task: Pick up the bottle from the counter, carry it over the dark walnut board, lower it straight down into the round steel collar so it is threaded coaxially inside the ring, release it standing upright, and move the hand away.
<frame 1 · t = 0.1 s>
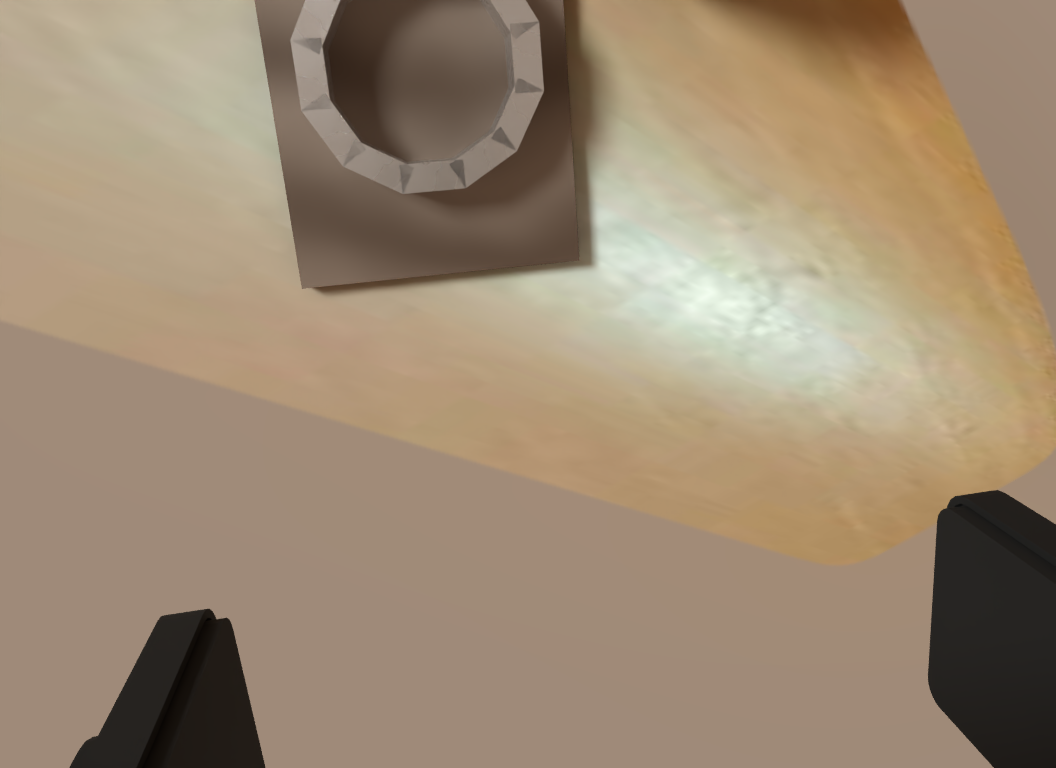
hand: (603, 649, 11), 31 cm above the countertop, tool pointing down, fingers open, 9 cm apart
holder board: (419, 71, 38), on the countertop
steel collar: (420, 68, 35), on the holder board, point 2 cm above the countertop
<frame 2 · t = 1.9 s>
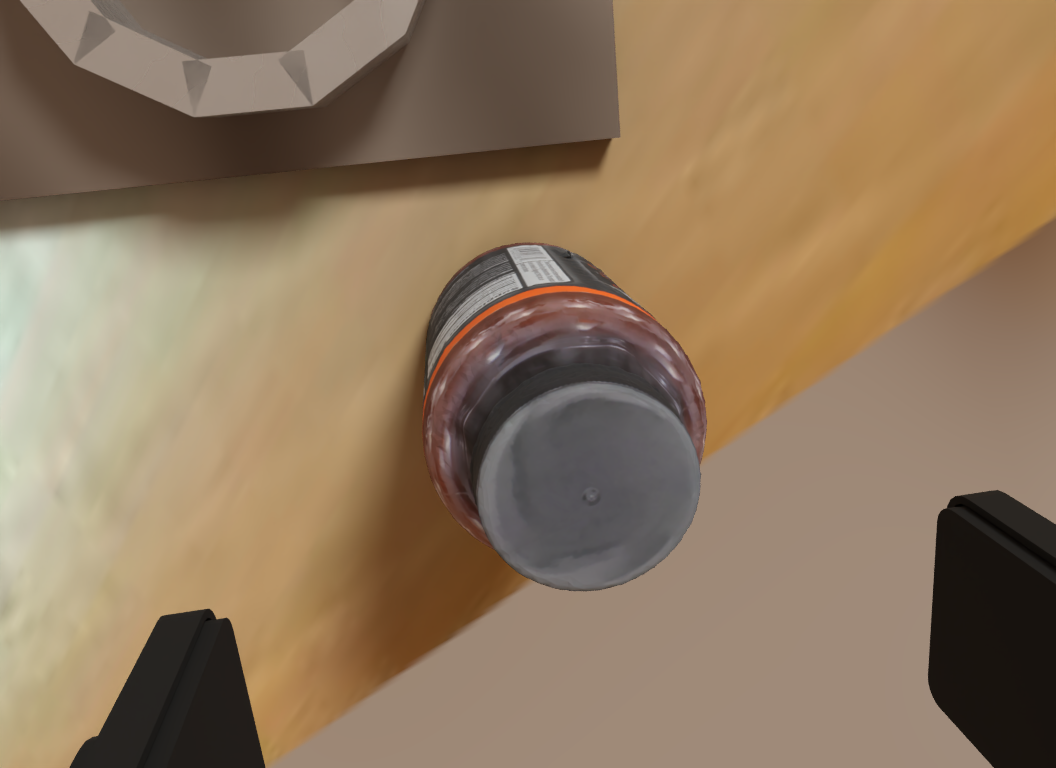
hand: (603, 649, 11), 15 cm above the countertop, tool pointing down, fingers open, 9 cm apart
supplement bottle: (525, 334, 25), on the countertop
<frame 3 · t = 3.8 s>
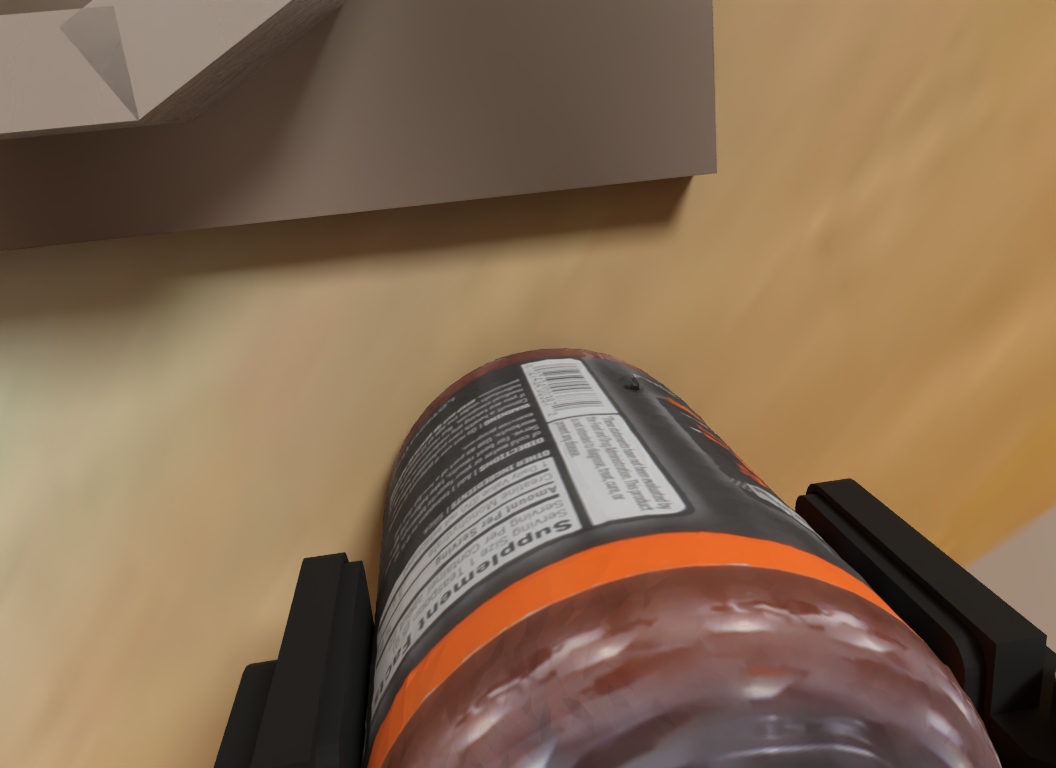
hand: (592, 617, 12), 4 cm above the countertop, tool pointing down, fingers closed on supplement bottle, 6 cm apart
supplement bottle: (546, 489, 16), on the countertop, touching gripper
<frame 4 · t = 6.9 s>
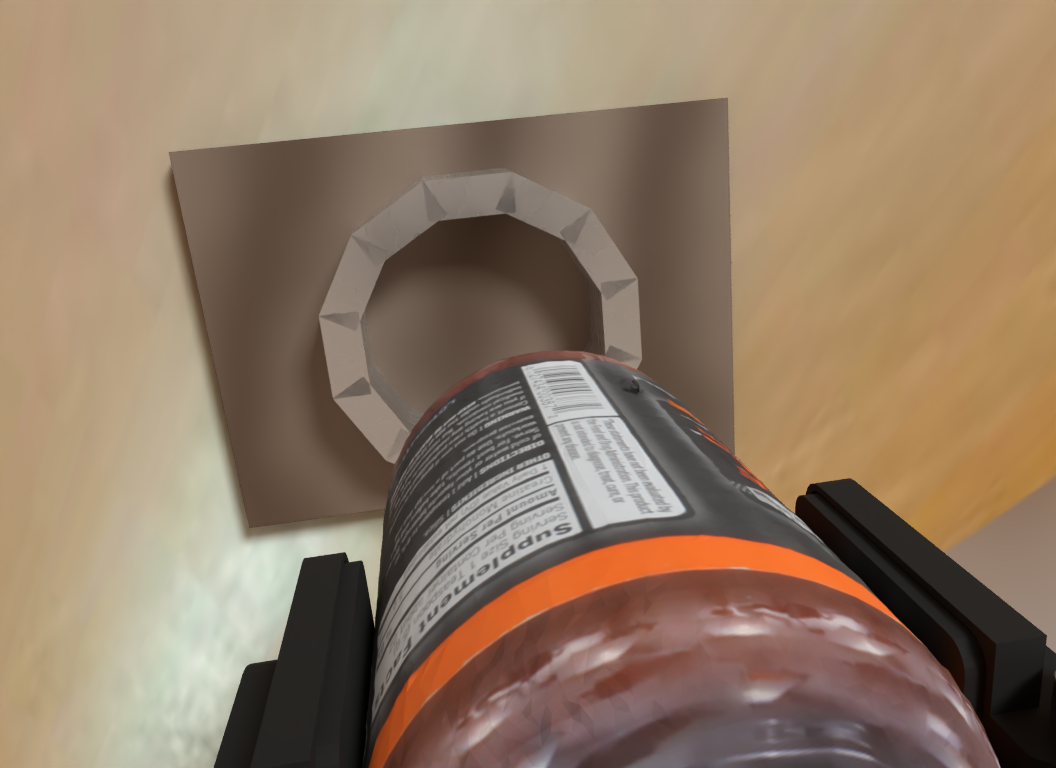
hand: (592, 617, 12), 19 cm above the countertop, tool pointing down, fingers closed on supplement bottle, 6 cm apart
supplement bottle: (547, 490, 16), point 15 cm above the countertop, touching gripper
holder board: (477, 314, 30), on the countertop
steel collar: (482, 329, 28), on the holder board, point 2 cm above the countertop
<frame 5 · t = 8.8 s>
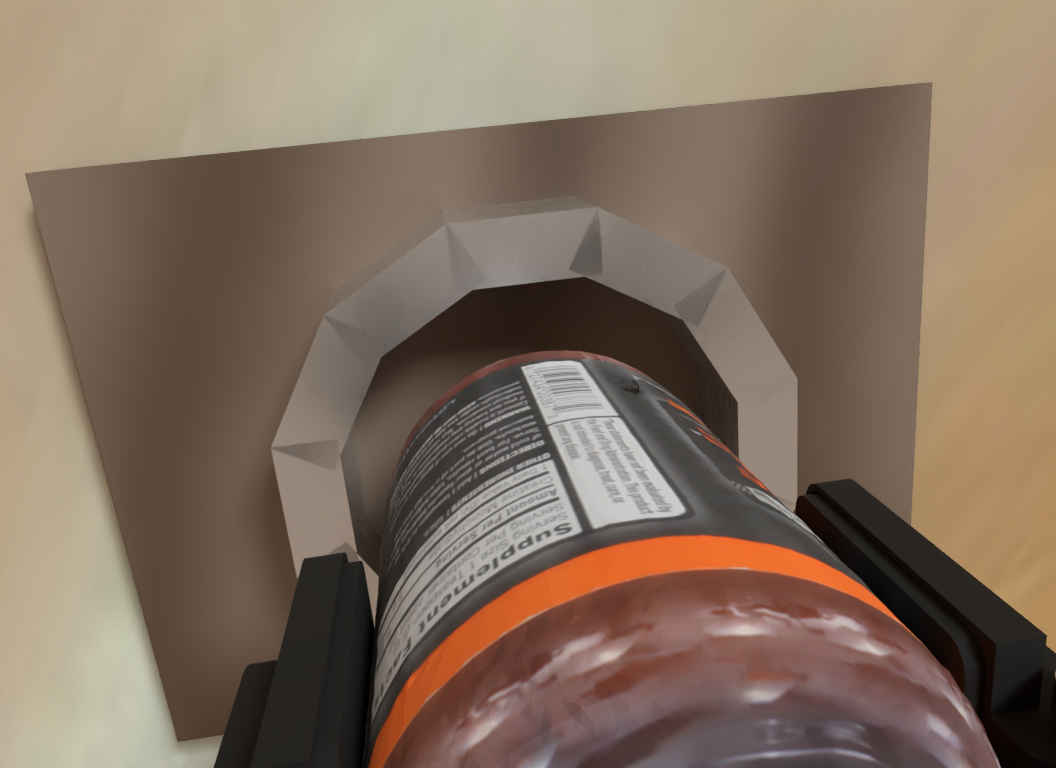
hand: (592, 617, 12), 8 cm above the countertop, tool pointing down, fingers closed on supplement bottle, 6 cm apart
supplement bottle: (546, 490, 16), point 4 cm above the countertop, touching gripper
holder board: (525, 417, 19), on the countertop
steel collar: (539, 453, 17), on the holder board, point 2 cm above the countertop
when the fingers open (6 cm above the countertop, at t = 10.2 s): supplement bottle stays where it is, resting on holder board.
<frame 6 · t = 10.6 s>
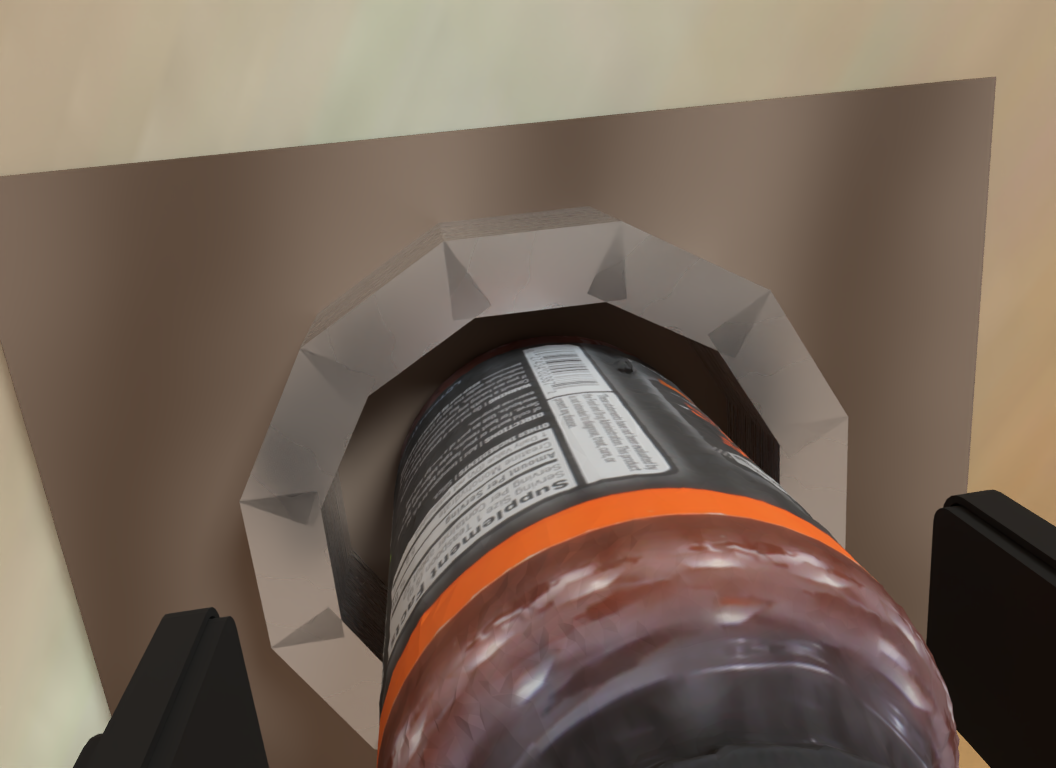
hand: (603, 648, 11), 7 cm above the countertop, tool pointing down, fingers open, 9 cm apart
supplement bottle: (547, 469, 17), point 1 cm above the countertop, touching holder board
holder board: (533, 454, 17), on the countertop
steel collar: (549, 500, 15), on the holder board, point 2 cm above the countertop
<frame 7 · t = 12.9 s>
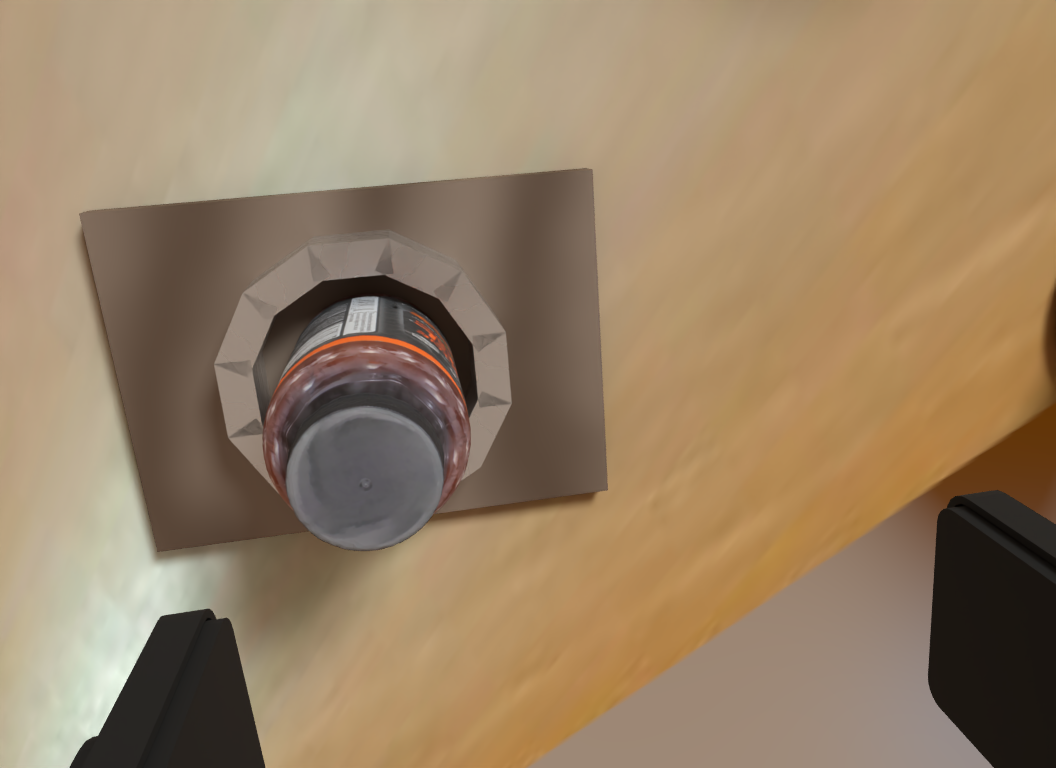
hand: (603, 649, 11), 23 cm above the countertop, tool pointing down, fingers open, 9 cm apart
supplement bottle: (374, 364, 32), point 1 cm above the countertop, touching holder board
holder board: (370, 358, 33), on the countertop
steel collar: (368, 374, 31), on the holder board, point 2 cm above the countertop
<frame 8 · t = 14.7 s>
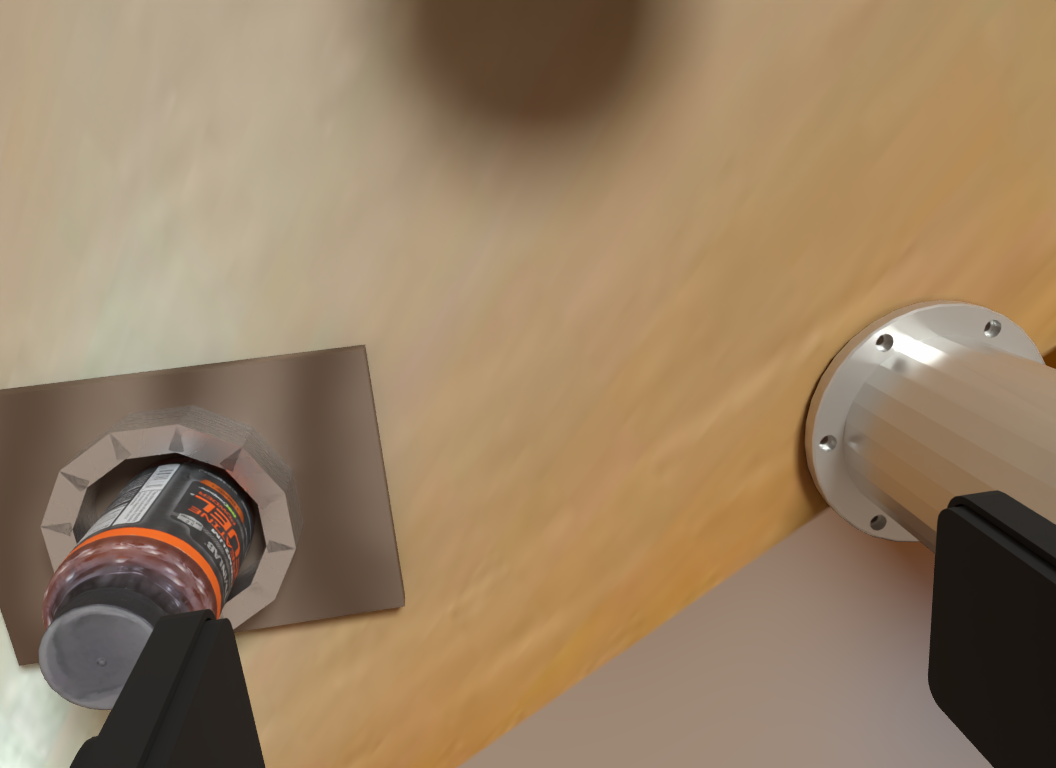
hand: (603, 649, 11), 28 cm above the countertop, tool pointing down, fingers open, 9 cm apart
supplement bottle: (191, 510, 38), point 1 cm above the countertop, touching holder board
holder board: (191, 503, 39), on the countertop
steel collar: (179, 524, 37), on the holder board, point 2 cm above the countertop
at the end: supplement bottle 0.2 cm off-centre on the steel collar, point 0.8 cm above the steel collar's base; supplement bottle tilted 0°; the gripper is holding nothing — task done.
